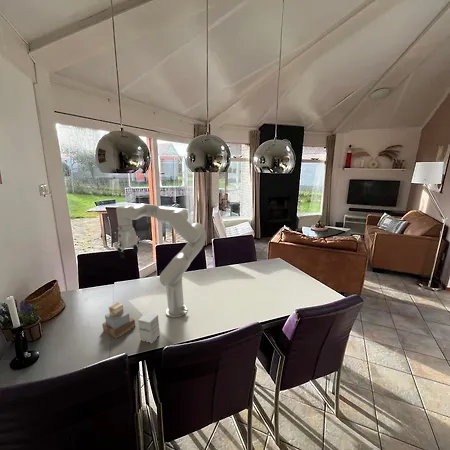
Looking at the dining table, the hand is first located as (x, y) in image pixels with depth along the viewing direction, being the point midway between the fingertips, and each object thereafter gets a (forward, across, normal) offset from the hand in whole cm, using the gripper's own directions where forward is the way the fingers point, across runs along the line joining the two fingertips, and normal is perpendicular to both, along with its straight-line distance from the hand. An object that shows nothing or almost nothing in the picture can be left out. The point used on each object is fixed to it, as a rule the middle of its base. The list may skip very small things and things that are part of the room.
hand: (129, 255), depth 153 cm
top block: (+32, -18, -6) cm, 38 cm away
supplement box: (+37, -15, -27) cm, 49 cm away
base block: (+37, -18, -6) cm, 42 cm away
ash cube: (+27, -18, -6) cm, 33 cm away
